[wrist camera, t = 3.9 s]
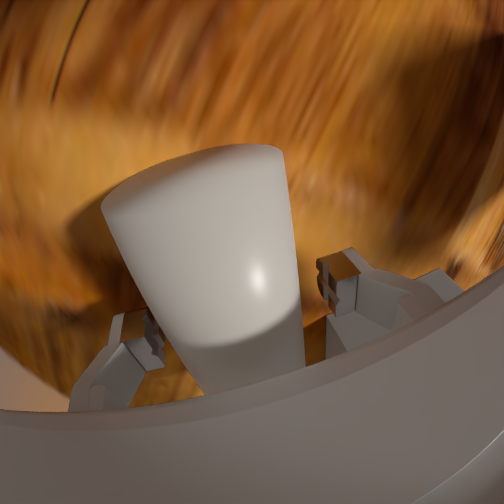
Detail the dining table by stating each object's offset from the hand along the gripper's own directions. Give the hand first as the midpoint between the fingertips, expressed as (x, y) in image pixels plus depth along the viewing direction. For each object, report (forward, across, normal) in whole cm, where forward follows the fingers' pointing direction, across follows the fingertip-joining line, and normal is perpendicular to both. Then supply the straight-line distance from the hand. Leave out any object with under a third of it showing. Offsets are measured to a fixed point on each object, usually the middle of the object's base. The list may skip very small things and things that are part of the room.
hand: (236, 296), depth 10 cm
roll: (+2, 0, 0) cm, 2 cm away
